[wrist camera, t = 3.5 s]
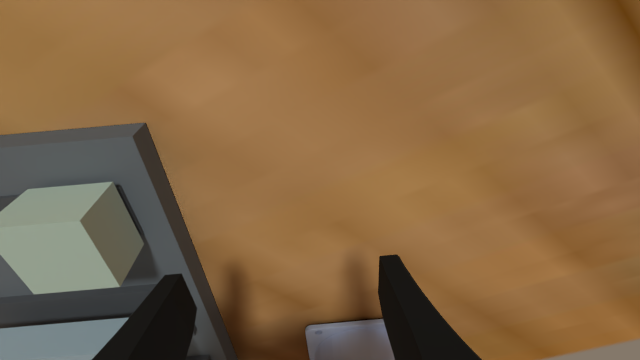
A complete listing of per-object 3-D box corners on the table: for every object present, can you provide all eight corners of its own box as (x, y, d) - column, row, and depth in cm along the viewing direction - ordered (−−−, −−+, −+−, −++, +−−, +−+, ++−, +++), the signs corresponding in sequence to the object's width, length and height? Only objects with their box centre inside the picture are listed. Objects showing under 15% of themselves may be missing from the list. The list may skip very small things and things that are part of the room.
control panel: (145, 122, 16) (127, 141, 14) (244, 376, 29) (240, 401, 28) (-144, 148, 16) (-196, 169, 14) (85, 390, 29) (72, 415, 28)
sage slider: (112, 181, 16) (79, 220, 13) (144, 244, 18) (120, 286, 15) (27, 189, 16) (-22, 229, 13) (69, 250, 18) (34, 294, 15)
